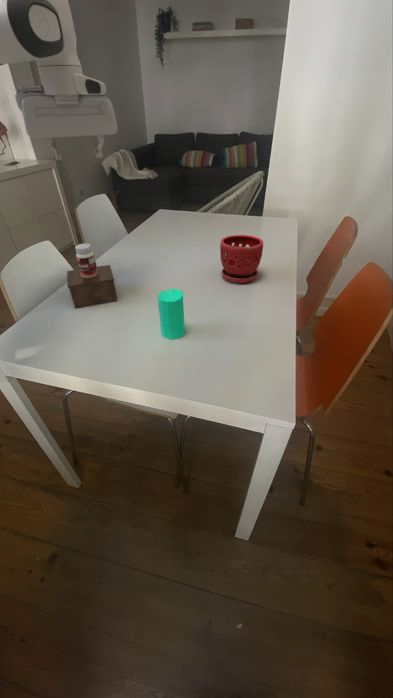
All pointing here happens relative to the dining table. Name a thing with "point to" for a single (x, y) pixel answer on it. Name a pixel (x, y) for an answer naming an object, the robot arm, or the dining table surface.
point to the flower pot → (240, 257)
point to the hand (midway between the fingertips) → (79, 158)
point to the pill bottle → (86, 261)
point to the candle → (171, 313)
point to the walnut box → (92, 287)
